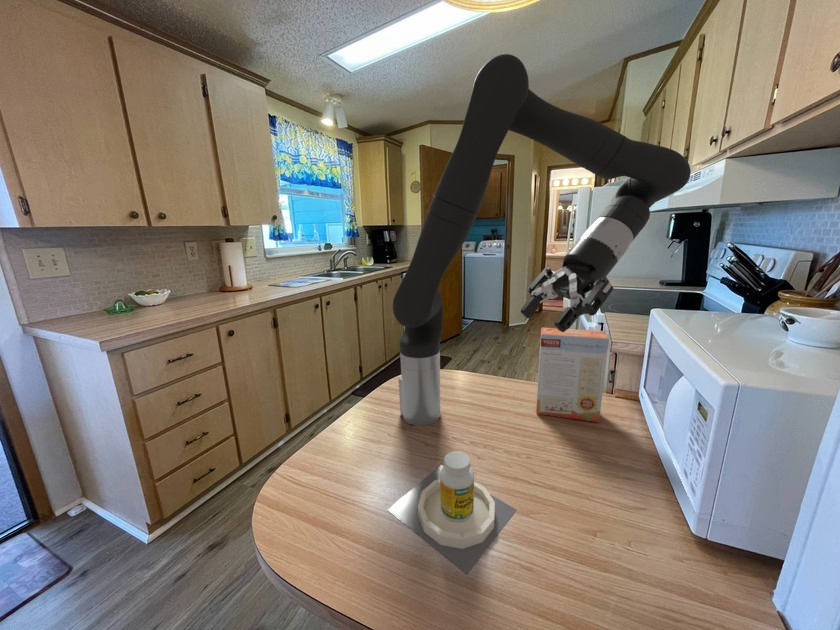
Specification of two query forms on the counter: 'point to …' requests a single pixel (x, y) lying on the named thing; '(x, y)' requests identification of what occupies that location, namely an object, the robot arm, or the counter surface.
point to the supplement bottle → (457, 487)
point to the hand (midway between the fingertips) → (540, 321)
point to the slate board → (459, 557)
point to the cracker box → (571, 373)
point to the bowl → (453, 531)
